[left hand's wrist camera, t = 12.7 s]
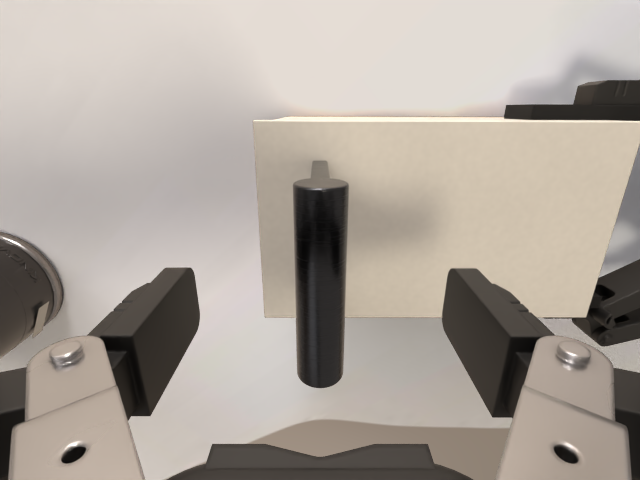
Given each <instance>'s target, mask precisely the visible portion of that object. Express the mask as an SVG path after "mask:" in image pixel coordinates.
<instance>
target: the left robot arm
mask: <svg viewBox="0 0 640 480" xmlns="http://www.w3.org/2000/svg"><path fill="white" fill-rule="evenodd" d="M61 302H62V287H61V283H60V280H59V277H58V275H57V273H56V271H55V270H54V268H53V266H52V265H51V264H50V262H49V261H48V260H47V259H46V258H45V257H44V256H43V255H42V254H41V253H40V252H39V251H38V250H37V249H36V248H34V247H33V246H31V245H30V244H28V243H27V242H25V241H23V240H21V239H19V238H17V237H15V236H12V235H9V234H6V233H2V232H0V358H2V357H3V356H4V355H5V354H7V353H8V352H9V351H11V350H12V349H13V348H15V347H16V346H17V345H19V344H20V343H21V342H22V341H24V340H25V339H26V338H27V337H29V336H30V335H31V334H33V338H34V337H35V336H36V335H37V334H39V333H40V332H41V331H42V330H43V326H45V325H46V324H47V323H49V322H50V321H51V320H52V319H53V318H54V317H55V316H56V314H57V313H58V311H59V309H60V306H61ZM199 320H200V311H199V304H198V297H197V289H196V282H195V276H194V272H193V270H192V269H191V268H165V269H164V270H163V271H162V272H161V273H160V274H159V275H158V276H157V277H156V278H155V279H154V280H153V281H152V282H151V283H147V284H145V285H143V286H141V287H139V288H137V289H136V290H134V291H132V292H131V293H130V294H129V295H128V296H127V297H126V298H125V299H124V300H123V301H122V303H120V304H119V305H118V306H117V307H116V308H115V309H114V311H112V312H111V313H110V314H109V315H107V316H106V317H105V318H104V319H103V320H102V321H101V322H100V323H99V324H98V325H97V326H96V327H95V328H94V329H93V330H92V331H91V332H90V333H89V334H88V335H87V336H77V337H72V338H68V339H65V340H62V341H59V342H57V343H54V344H52V345H50V346H48V347H46V348H45V349H43V350H41V351H40V352H39V353H37V354H36V355H35V356H34V357H33V358H32V359H31V360H30V361H29V363H28V365H27V367H26V368H21V369H15V370H10V371H5V372H0V480H145V477H144V474H143V471H142V467H141V464H140V460H139V457H138V454H137V450H136V447H135V444H134V440H133V437H132V433H131V430H130V427H129V423H128V420H129V419H130V417H131V416H151V414H152V412H153V410H154V408H155V407H156V405H157V403H158V401H159V399H160V397H161V396H162V394H163V392H164V390H165V388H166V387H167V385H168V383H169V381H170V379H171V378H172V376H173V374H174V372H175V370H176V368H177V367H178V365H179V363H180V361H181V359H182V358H183V356H184V354H185V352H186V350H187V348H188V347H189V345H190V343H191V341H192V339H193V338H194V336H195V334H196V332H197V330H198V326H199ZM442 322H443V327H444V331H445V333H446V335H447V337H448V338H449V340H450V342H451V344H452V346H453V347H454V349H455V351H456V353H457V355H458V356H459V358H460V360H461V362H462V363H463V365H464V367H465V369H466V371H467V372H468V374H469V376H470V378H471V380H472V381H473V383H474V385H475V387H476V389H477V390H478V392H479V394H480V396H481V398H482V399H483V401H484V403H485V405H486V407H487V408H488V410H489V412H490V414H491V416H492V417H512V418H513V420H512V423H511V427H510V430H509V434H508V437H507V440H506V444H505V447H504V450H503V454H502V457H501V460H500V464H499V467H498V471H497V474H496V477H495V480H640V373H637V372H632V371H627V370H622V369H617V368H613V365H612V363H611V361H610V360H609V359H608V358H607V357H606V356H605V355H604V354H603V353H601V352H600V351H599V350H597V349H595V348H594V347H592V346H590V345H588V344H586V343H583V342H581V341H578V340H575V339H572V338H568V337H563V336H555V335H554V334H553V333H552V332H551V331H550V330H549V329H548V328H547V327H546V326H545V325H544V324H543V323H542V322H541V321H540V320H539V319H538V318H537V317H535V316H534V315H533V314H532V313H531V312H529V310H528V309H527V308H526V307H525V306H524V305H523V304H520V301H519V300H518V299H517V298H516V297H515V296H514V295H513V294H512V293H511V292H509V291H507V290H506V289H504V288H502V287H500V286H498V285H496V284H492V283H491V282H490V281H489V280H488V279H487V278H486V277H485V276H484V275H483V274H482V273H481V272H480V271H479V270H478V269H476V268H451V269H450V270H449V272H448V276H447V282H446V289H445V296H444V303H443V310H442ZM33 338H32V339H33ZM167 480H473V479H471V478H469V477H468V476H465V475H463V474H461V473H459V472H457V471H455V470H452V469H449V468H447V467H444V466H441V465H437V464H434V462H433V459H432V456H431V453H430V450H429V447H428V444H373V445H369V446H366V447H361V448H357V449H353V450H349V451H345V452H342V453H337V454H333V455H329V456H325V457H315V456H311V455H307V454H303V453H299V452H295V451H291V450H287V449H283V448H279V447H275V446H271V445H267V444H212V447H211V450H210V453H209V456H208V459H207V462H206V464H203V465H199V466H196V467H193V468H191V469H188V470H185V471H183V472H181V473H179V474H177V475H175V476H172V477H171V478H169V479H167Z"/></svg>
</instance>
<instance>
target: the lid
mask: <svg viewBox="0 0 640 480" xmlns="http://www.w3.org/2000/svg"><path fill="white" fill-rule="evenodd" d="M253 132H254V149H255V165H256V182H257V199H258V215H259V232H260V248H261V265H262V282H263V298H264V315H265V318H296V340H297V373H298V376H299V378H300V380H301V381H302V382H303V383H305V384H306V385H308V386H311V387H315V388H326V387H330V386H332V385H334V384H336V383H337V382H338V381H339V380H340V379H341V377H342V375H343V358H344V327H345V318H408V317H442V310H443V303H444V296H445V289H446V282H447V276H448V272H449V270H450V269H451V268H476V269H478V270H479V271H480V272H481V273H482V274H483V275H484V276H485V277H486V278H487V279H488V280H489V281H490V282H491V283H492V284H496V285H498V286H500V287H502V288H504V289H506V290H507V291H509V292H511V293H512V294H513V295H514V296H515V297H516V298H517V299H518V300H519V301H520V304H523V305H524V306H525V307H526V308H527V309H528V310H529V312H531V313H532V314H533V315H534V316H535V317H586V316H587V313H588V310H589V306H590V303H591V300H592V297H593V293H594V290H595V287H596V284H597V280H598V277H599V274H600V271H601V268H602V264H603V261H604V258H605V255H606V251H607V248H608V245H609V242H610V238H611V235H612V232H613V229H614V225H615V222H616V219H617V216H618V213H619V209H620V206H621V203H622V200H623V196H624V193H625V190H626V187H627V183H628V180H629V177H630V174H631V171H632V167H633V164H634V161H635V158H636V154H637V151H638V148H639V145H640V121H444V120H254V121H253Z"/></svg>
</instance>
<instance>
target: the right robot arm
mask: <svg viewBox="0 0 640 480" xmlns="http://www.w3.org/2000/svg"><path fill="white" fill-rule="evenodd" d="M504 119H520V120H615V121H640V80H628V81H627V80H607V81H597V82H588V83H585V84H583V85H580V86H578V88H577V92H576V96H575V100H574V104H573V105H506V109H505V115H504ZM543 318H572V322H573V323H574V324H575V325H576V326H577V327H579V328H580V329H581V330H582V331H583V332H584V333H586V334H587V335H588V336H589V337H590V338H592V339H593V340H594V341H595V342H597V343H598V344H599V345H600V346H609V345H614V344H618V343H622V342H626V341H631V340H635V339H639V338H640V259H639V260H637V261H635V262H633V263H631V264H629V265H626V266H624V267H622V268H620V269H618V270H616V271H613V272H611V273H609V274H607V275H605V276H602V277H600V278H598V280H597V284H596V287H595V290H594V293H593V297H592V300H591V303H590V306H589V310H588V313H587V316H586V317H543Z"/></svg>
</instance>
